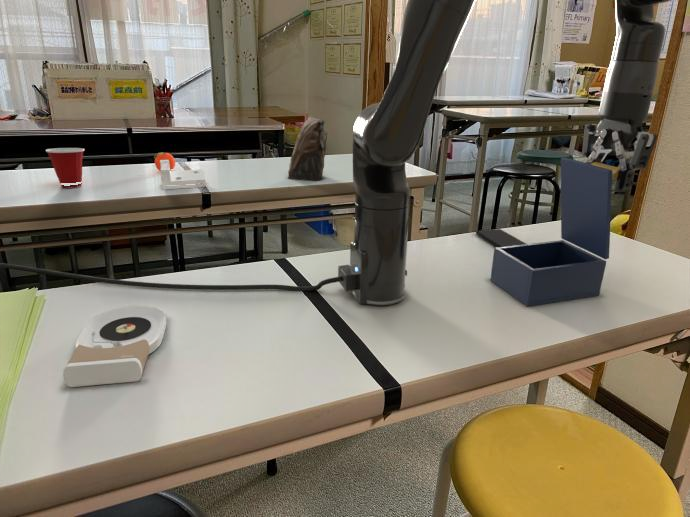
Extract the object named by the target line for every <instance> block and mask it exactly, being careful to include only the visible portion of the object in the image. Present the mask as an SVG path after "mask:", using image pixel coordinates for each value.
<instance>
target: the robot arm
mask: <svg viewBox="0 0 690 517" xmlns="http://www.w3.org/2000/svg"><path fill="white" fill-rule="evenodd" d="M671 1H672V0H615V23H616V36H615V41H614V46H613V50H612V55H611V60H610V63H609V67H608V69H607V72H606V76H605V80H604V86H603V91H602V95H601V100H600V105H599V109H598V117H600V118H601V119H600V121H599V123H586V124H585V126H584V132H583V139H582V140H583V141H582V148H581V149H582V150H581V156H582V157H583V158H587V160H588V164H592V163H594V162H598V163H602V164H604V163H603V162H604V160H605V158H606V157H607V155H608V154H609V153H611V152H612V151H613V152H615V156H616V158H617V159H618V161H619V162H618V163H619V168H620V169H621V171H619V172H618V177H617V180H615V181H616V182H615V186H614V191H615V192H617V193H626V192H628V190H629V189H630V188H631V183H632V180H633V176H634V172H636V171H639V170H645V169H646V168H647V166H648V163H649V161H650V158H651V156H652V153H653V150H654V147H655V146H656V145H655V144H656V142H657V139H658V136H657V134H656V133H647V132H644V130H643V123H644V122H645V120H646V119H647V118H648V115H649V112H650V111H649V110H650V107H651V104H652V99H653V98H652V97H653V94H654V90H655V85H656V82H657V77H658V68H659V61H660V58H661V55H662V51H663V50H662V49H663V46H664V40H665V37H666V27H665V25H664V24H663V23H661V22H659V21H655V5H657V4H665V3H668V2H671ZM475 2H476V0H407V2H406V3H407V4H406V6H405V9H404V12H403V17H402V22H401V28H400V34H399V44H398V50H397V56H396V62H395V66H394V69H393V72H392V75H391V77H390V80H389V82H388V84H387V87H386V89H385V91H384V93H383V96H382V98H381V99H380V102H376V103H372V104H370V105H368V106H366V107H365V108H364V109H363V110H361V111H360V113H359V114H358V115H357V117H356V119H355V121H354V125H353V130H352V183H353V187H354V238H353V240H354V241H351V242H350V244H349V245H350V247H349V250H350V252H349V264H343V265H338V266H337V268H338V269H337V275H338V276H334V277H330V278H326V279H322V280H321V281H319V282H318V283H317V284H315V285H310V286H297V285H287V284H187V283H185V284H184V283H183V284H182V283H162V282H147V281H146V282H145V281H136V280H135V281H133V280H124V279H115V278H106V277H99V276H91V275H84V274H78V273H77V274H76V273H70V272H65V271H64V272H63V271H57V270H50V269H44V268H37V267H33V266H32V267H30V266H25V265H18V264H11V263H3V262H0V268H2V269H9V270H15V271H16V270H17V271H23V272H29V273H34V274H35V273H36V274H41V275H48V276H55V277H60V278H66V279H73V280H80V281H87V282H94V283H101V284H111V285H119V286H129V287H140V288H152V289H167V290H170V289H171V290H193V291H194V290H195V291H252V290H253V291H256V290H257V291H258V290H280V291H293V292H315V291H319V290H320V289H321V288H322V287H324V286H326V285H329V284H333V283H339V284H340V286H341V287H342V288H343V289H344V291H345V292H350V293H351V294H352V295H353V297H354V299H355V300H356V301H357V302H358V304H360V305H371V306H390V305H394V304H397V303H400V302H402V301H403V300H404V298H405V296H406V295H405V294H406V293H405V292H406V291H405V288H406V284H405V283H406V277H407V276H408V270H407V255H408V253H407V252H408V237H409V236H408V235H409V222H410V220H409V219H410V205H411V188H410V185H409V181H408V179H407V174H406V163H407V162H408V161H410V159H411V158H412V157H413V156H414V155H415V153H416V151H417V150H418V148H419V145H420V143H421V142H422V137H423V135H424V131H425V128H426V125H427V121H428V119H429V118H428V117H429V114H430V111H431V108H432V105H433V101H434V99H435V96H436V92H437V90H438V88H439V84H440V83H441V80H442V78H443V75H444V73H445V71H446V69H447V67H448V64H449V62H450V60H451V57H452V55H453V53H454V50H455V48H456V46H457V44H458V41H459V39H460V36H461V35H462V32H463V30H464V28H465V26H466V24H467V21H468V20H469V16H470V14H471V12H472V10H473V7H474V5H475Z"/></svg>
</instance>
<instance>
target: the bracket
mask: <svg viewBox="0 0 690 517" xmlns="http://www.w3.org/2000/svg"><path fill="white" fill-rule="evenodd" d="M160 164H161V169H160V170H161V171H160V170H159V171H160V176H161V184H162V190H177V189H192V188H206V187H207V185H206V176H205V171H204V169H203V168H202V169H187V170H186V169H185V170H171V171H170V166H169V160H160ZM199 183H202V184H199ZM186 184H198V185H186ZM165 185H180V186H165Z"/></svg>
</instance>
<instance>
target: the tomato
mask: <svg viewBox="0 0 690 517" xmlns="http://www.w3.org/2000/svg"><path fill="white" fill-rule="evenodd" d="M153 159H154V165H155V167H156V169H157V170H158V171H160V169H161V164H160V160H169V166H170V171H172V170H171V169H173V170H174V169H175V166H176V160H175V158H174V156H173V155H172V154H170V152H158V153H156V154H154V157H153Z"/></svg>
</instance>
